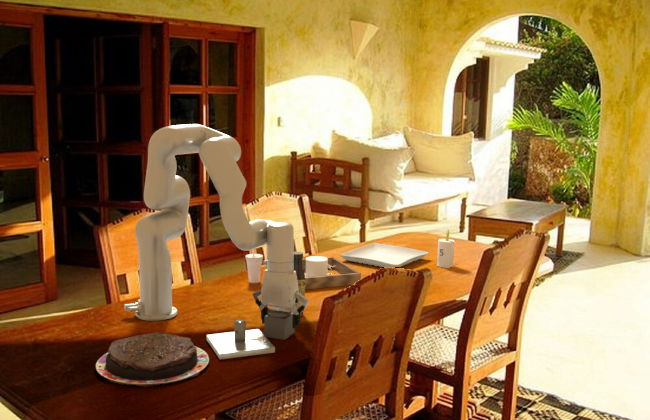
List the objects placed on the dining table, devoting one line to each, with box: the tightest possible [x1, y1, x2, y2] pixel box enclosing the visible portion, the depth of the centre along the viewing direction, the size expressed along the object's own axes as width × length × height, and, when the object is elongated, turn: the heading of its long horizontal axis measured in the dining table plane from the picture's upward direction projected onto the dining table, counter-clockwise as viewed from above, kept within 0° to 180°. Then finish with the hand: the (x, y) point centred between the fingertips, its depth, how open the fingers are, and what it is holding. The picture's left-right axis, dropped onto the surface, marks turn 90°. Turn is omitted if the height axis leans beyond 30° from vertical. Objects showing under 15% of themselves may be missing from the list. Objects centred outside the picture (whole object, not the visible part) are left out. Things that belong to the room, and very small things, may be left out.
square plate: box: [339, 242, 429, 268], centre depth 290 cm, size 27×27×4 cm
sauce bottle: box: [290, 251, 306, 317], centre depth 217 cm, size 7×6×20 cm
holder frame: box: [302, 256, 362, 290], centre depth 262 cm, size 25×26×4 cm
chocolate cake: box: [95, 331, 210, 388], centre depth 178 cm, size 28×28×7 cm
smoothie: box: [244, 248, 264, 284], centre depth 254 cm, size 6×6×14 cm
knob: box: [263, 307, 295, 341], centre depth 201 cm, size 7×7×8 cm
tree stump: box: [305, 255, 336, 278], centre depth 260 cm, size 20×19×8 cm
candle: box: [436, 229, 455, 269], centre depth 282 cm, size 6×6×15 cm
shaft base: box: [206, 319, 276, 360], centre depth 192 cm, size 15×15×7 cm
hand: (280, 324), depth 201 cm, fingers open, 9 cm apart
